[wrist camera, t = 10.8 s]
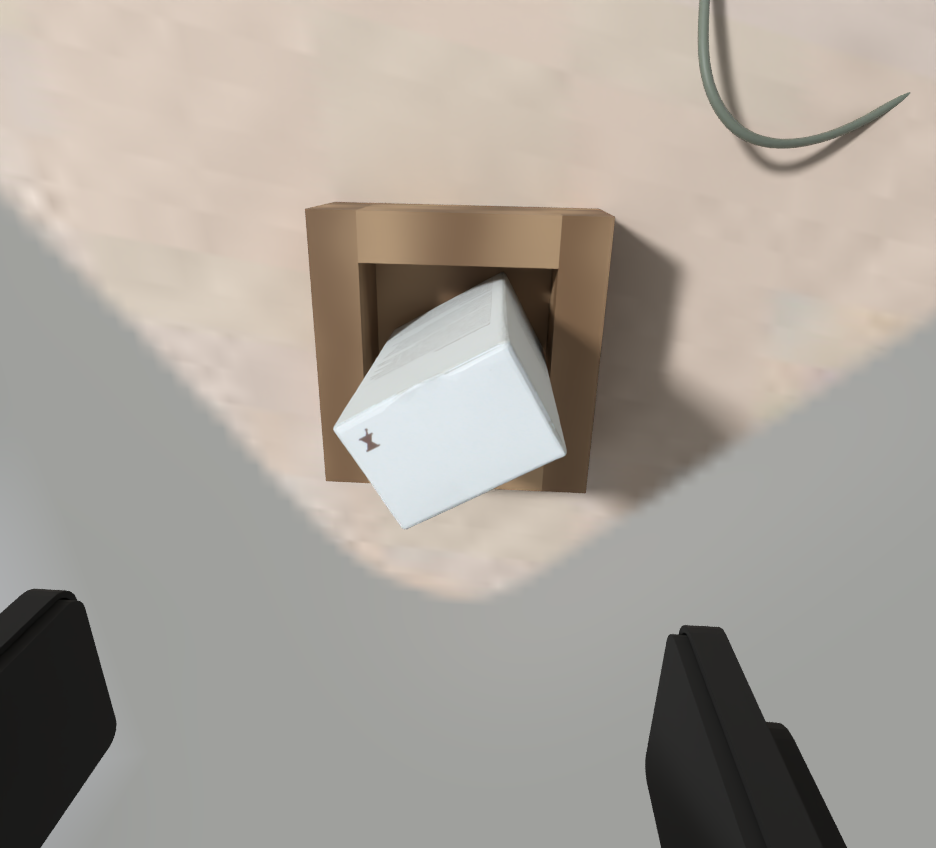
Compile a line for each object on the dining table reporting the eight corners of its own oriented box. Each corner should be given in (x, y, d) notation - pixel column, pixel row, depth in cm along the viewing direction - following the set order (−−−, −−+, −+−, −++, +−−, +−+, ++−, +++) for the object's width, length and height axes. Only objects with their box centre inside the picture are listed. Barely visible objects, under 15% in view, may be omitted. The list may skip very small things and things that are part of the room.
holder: (599, 208, 28) (615, 216, 24) (575, 450, 33) (585, 493, 28) (334, 202, 28) (304, 208, 24) (348, 441, 33) (325, 481, 29)
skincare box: (437, 403, 31) (397, 536, 20) (392, 328, 30) (324, 427, 19) (548, 347, 30) (572, 459, 18) (506, 266, 28) (505, 334, 17)
